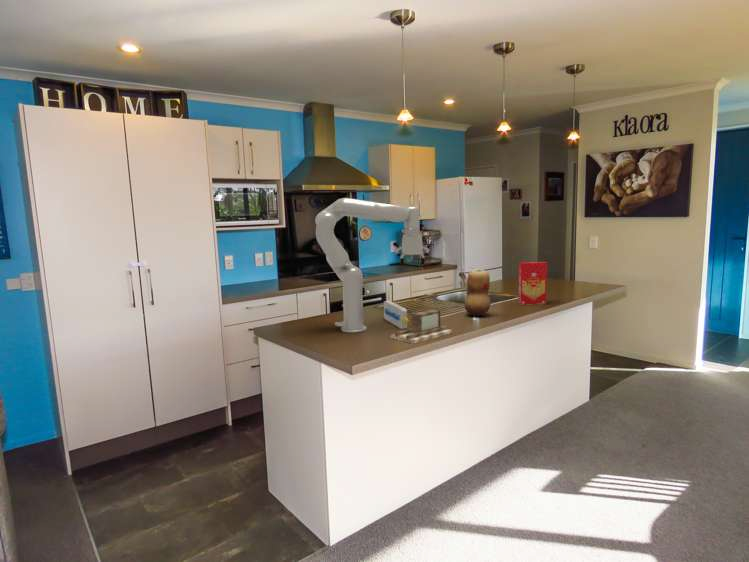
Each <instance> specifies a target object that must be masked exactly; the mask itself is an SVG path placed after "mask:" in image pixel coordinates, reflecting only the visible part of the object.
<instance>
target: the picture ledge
mask: <svg viewBox="0 0 749 562" xmlns="http://www.w3.org/2000/svg"><path fill="white" fill-rule="evenodd" d="M453 332H454V331H453V329H449V325H444V326H440V327H439V328H435V329H431V330H427V331H423V332H419V333H415V334H414V333H412V328H407V329H405V330H404V329H402V330H399V331H394V334H390V339H393V338H394V339H393V340H396V339H398V340H397V341H400V340H401V341H400V342H403V341H405V342H404V343H407V342H408V344H410V343H411V345H413V343H414V344H416V343H417V342H418V343H421V342H425V341H428V340H433V339H436V338H439V337H442V336H443V337H444V336H447V334H448V335H451V334H450V333H452V334H454V333H453Z"/></svg>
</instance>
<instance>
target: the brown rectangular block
mask: <svg viewBox="0 0 749 562" xmlns="http://www.w3.org/2000/svg"><path fill="white" fill-rule="evenodd" d="M439 327H441V310H439V309H428V310H424V311H419V312H415V313H411V329H412V333H414V334H415V333H419V332H423V331H427V330H431V329H435V328H439Z"/></svg>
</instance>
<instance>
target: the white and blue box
mask: <svg viewBox="0 0 749 562" xmlns="http://www.w3.org/2000/svg"><path fill="white" fill-rule="evenodd" d="M383 318H384V320H386V321H387V322H389V323H391V324H393V325H394V326H395V325H396V327H397V328H399V329H400V328H401V329H400V330H404V329H405V330H407V329H408V323H409V319H408V310H407V309H406V308H405V307H403V306H402V305H398V304H397V303H395V302H393V301H390V300H385V301H383Z"/></svg>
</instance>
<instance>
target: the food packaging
mask: <svg viewBox="0 0 749 562" xmlns="http://www.w3.org/2000/svg"><path fill="white" fill-rule="evenodd" d="M547 276H548V262H546V261H534V262H533V261H531V262H529V261H527V262H524V261H523V262H519V263H518V303H520V304H537V303H546V304H547V286H548V285H547V280H548V279H547Z"/></svg>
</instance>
